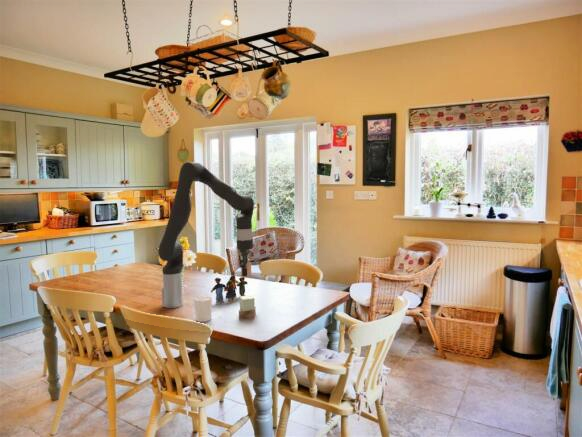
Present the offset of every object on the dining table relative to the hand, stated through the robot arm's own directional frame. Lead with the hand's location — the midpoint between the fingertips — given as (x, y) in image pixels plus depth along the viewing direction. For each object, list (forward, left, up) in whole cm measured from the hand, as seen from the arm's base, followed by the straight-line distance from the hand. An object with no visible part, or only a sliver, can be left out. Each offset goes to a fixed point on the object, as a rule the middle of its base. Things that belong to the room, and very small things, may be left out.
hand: (246, 274), depth 193 cm
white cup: (-19, -6, -20) cm, 29 cm away
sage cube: (0, 0, -16) cm, 16 cm away
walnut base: (0, 0, -20) cm, 20 cm away
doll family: (-16, +25, -20) cm, 36 cm away
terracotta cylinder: (0, 0, -1) cm, 1 cm away
